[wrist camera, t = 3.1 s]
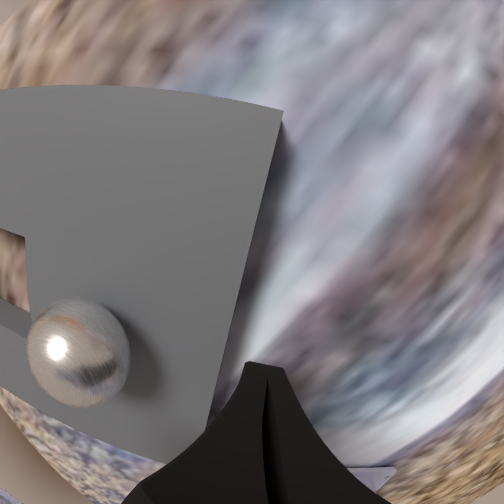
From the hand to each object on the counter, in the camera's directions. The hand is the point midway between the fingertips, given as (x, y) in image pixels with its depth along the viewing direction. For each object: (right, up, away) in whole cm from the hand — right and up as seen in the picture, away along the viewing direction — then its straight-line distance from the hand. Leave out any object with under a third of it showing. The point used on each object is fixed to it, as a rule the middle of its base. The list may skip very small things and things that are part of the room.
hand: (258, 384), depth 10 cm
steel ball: (-6, +1, -1) cm, 7 cm away
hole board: (-9, +3, +2) cm, 10 cm away
